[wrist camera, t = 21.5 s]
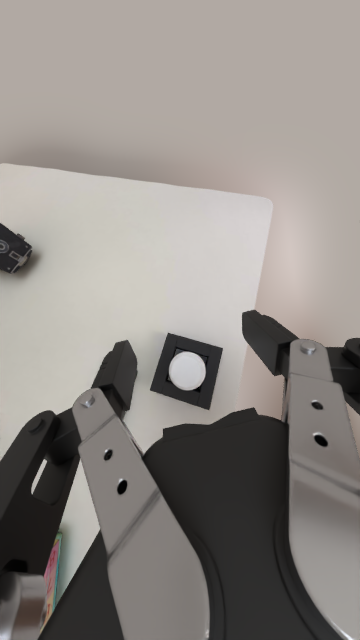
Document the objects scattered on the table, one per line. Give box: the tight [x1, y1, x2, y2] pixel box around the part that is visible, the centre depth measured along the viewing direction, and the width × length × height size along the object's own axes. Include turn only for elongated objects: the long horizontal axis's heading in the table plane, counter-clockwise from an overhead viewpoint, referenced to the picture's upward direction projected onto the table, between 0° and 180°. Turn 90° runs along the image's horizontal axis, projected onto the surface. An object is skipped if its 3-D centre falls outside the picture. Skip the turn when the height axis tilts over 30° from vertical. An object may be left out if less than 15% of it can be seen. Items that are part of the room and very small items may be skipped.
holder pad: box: [150, 333, 223, 410], centre depth 28 cm, size 10×10×3 cm
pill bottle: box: [169, 352, 206, 390], centre depth 25 cm, size 6×5×10 cm
